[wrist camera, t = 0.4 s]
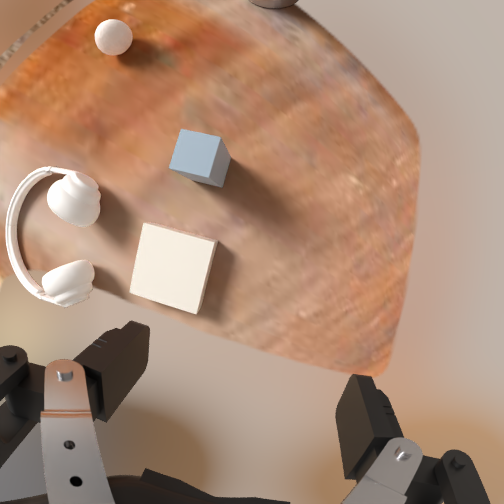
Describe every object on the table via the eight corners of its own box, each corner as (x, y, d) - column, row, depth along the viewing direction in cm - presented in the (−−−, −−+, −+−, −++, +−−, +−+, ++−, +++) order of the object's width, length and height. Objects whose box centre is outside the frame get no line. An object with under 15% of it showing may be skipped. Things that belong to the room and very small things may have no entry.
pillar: (192, 180, 37) (168, 168, 27) (200, 150, 37) (181, 128, 27) (222, 187, 37) (208, 177, 27) (231, 157, 37) (220, 137, 27)
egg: (145, 42, 35) (127, 17, 28) (121, 67, 36) (99, 45, 28) (124, 30, 35) (106, 7, 28) (101, 54, 35) (79, 33, 28)
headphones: (117, 171, 37) (28, 167, 40) (81, 162, 29) (-5, 162, 32) (103, 310, 40) (20, 280, 42) (70, 327, 32) (-12, 288, 34)
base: (152, 222, 38) (143, 222, 35) (218, 240, 38) (214, 242, 35) (138, 287, 39) (129, 292, 36) (201, 307, 39) (196, 314, 36)
